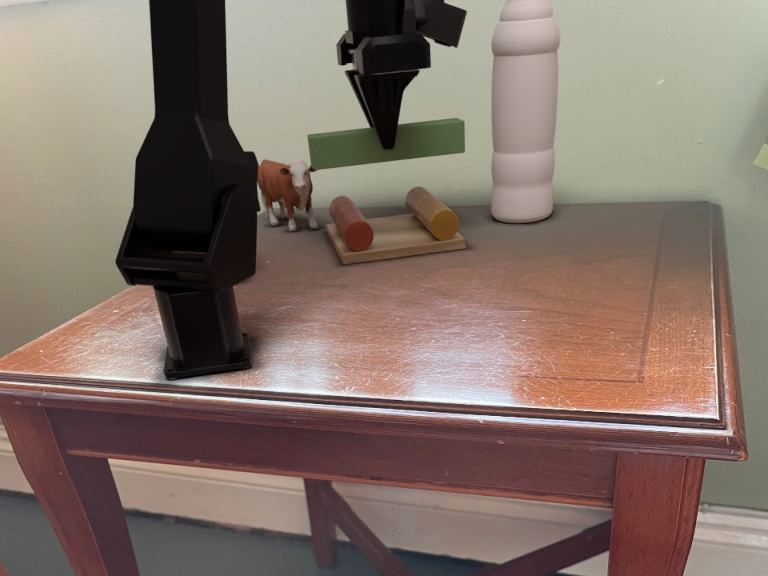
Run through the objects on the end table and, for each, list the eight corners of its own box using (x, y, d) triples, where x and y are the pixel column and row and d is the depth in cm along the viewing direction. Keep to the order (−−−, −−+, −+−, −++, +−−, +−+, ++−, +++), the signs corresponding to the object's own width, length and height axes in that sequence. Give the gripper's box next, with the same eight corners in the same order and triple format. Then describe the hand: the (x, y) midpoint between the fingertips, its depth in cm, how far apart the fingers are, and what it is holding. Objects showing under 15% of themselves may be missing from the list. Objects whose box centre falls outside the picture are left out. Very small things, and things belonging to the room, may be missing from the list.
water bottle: (509, 207, 93) (512, -45, 79) (562, 211, 90) (576, -53, 76) (480, 221, 89) (478, -44, 75) (535, 226, 85) (544, -52, 71)
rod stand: (465, 248, 80) (465, 208, 78) (343, 264, 78) (338, 224, 76) (434, 219, 91) (433, 183, 89) (327, 232, 90) (323, 197, 88)
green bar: (465, 152, 80) (464, 120, 78) (313, 170, 78) (310, 138, 76) (457, 148, 82) (457, 117, 81) (310, 165, 81) (307, 134, 79)
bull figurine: (300, 240, 88) (289, 164, 83) (257, 221, 98) (246, 151, 93) (334, 233, 90) (325, 158, 85) (289, 214, 100) (279, 146, 95)
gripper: (485, -52, 64) (486, 151, 73) (434, -39, 79) (439, 128, 88) (355, -40, 63) (371, 164, 72) (328, -29, 78) (344, 138, 87)
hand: (385, 147), depth 80 cm, fingers closed on green bar, 3 cm apart
